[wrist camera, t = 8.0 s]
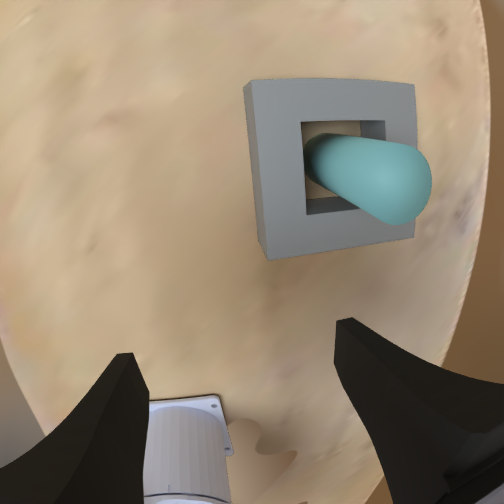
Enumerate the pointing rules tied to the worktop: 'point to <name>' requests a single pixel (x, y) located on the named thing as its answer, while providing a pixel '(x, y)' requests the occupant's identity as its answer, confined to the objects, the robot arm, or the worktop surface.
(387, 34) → the worktop surface
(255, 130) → the socket block
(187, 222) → the worktop surface
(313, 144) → the peg
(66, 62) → the worktop surface
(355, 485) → the worktop surface
